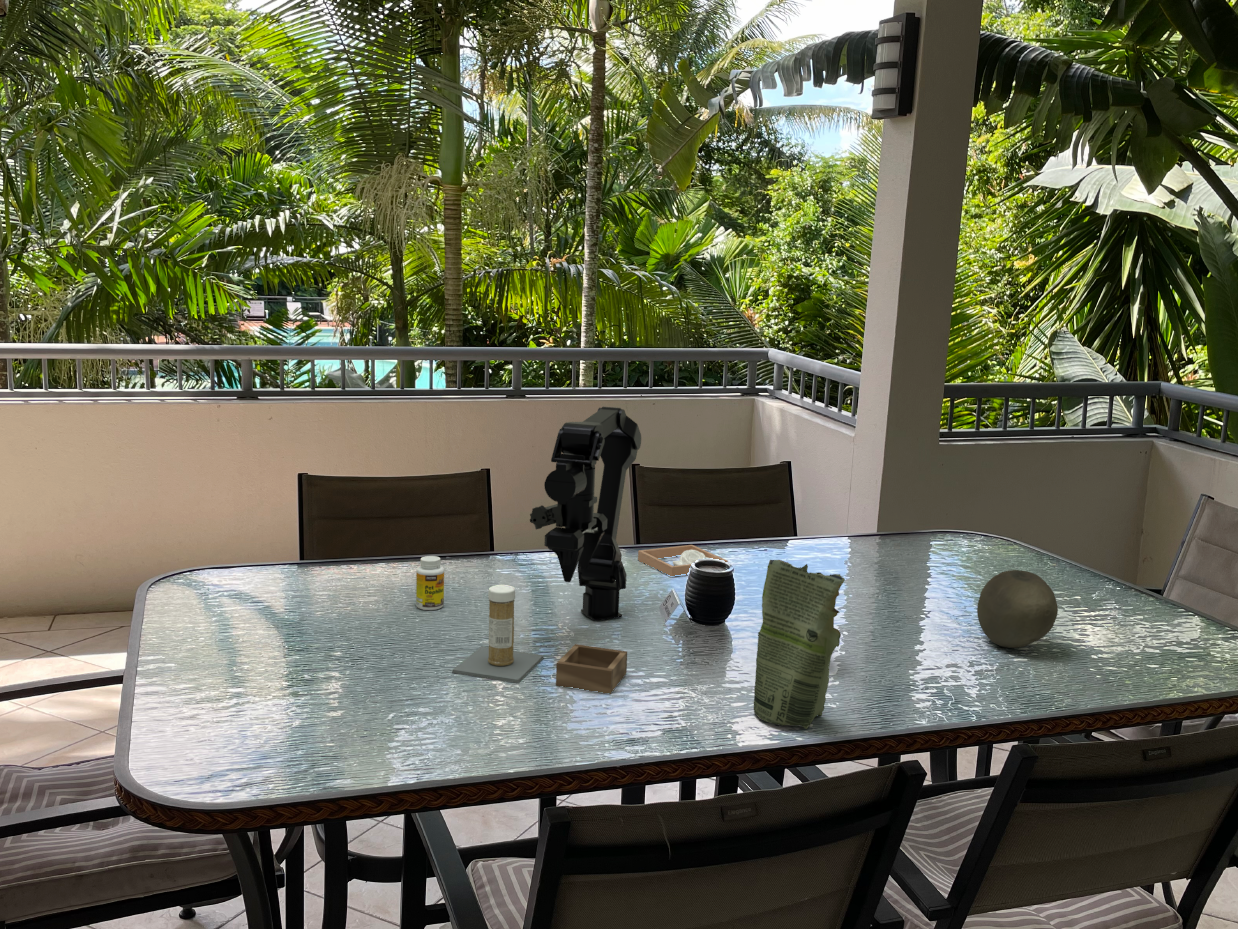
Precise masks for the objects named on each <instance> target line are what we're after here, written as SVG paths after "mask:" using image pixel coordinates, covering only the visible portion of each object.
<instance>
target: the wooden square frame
mask: <svg viewBox="0 0 1238 929" xmlns="http://www.w3.org/2000/svg"><path fill="white" fill-rule="evenodd" d="M686 550H696V551H699V552H701V553H703V554H704V555H705V557H708V558H713V559H719V560H724V561H725V562H729V561H728V560H727V559H725V558H722V557H720V556H718V555H716V554H714V553H711V552H709V551H707V550H704V549H702V548H700V547H698V546H696V545H693V544H688V545H687V544H686V545H677V546H670V547H669V546H668V547H660V548H659V547H658V548H650V549H641V550H638V551H637V553H638V555H637V561H638V560H639V561H638V562H640V563H642V562H643V563H642V564H644V563H645V564H644V565H646V564H647V565H646V566H648V565H649V566H651V567H654V568H655V569H658V570H659V571H662V572H663V573H666V574H668V575H670V576H675V575H681V574H686V575H687V573H688V572H689V568H690V566H691V564H687V565H678V566H674V565H672V564H669V563H667V562H665V561H664V560H663V559H658V558H664V557H672V556H676V555H681V554H682V553H683V552H684V551H686ZM649 566H648V567H649ZM651 567H650V568H651ZM655 569H654V570H655ZM659 571H658V572H659ZM663 573H662V574H663Z"/></svg>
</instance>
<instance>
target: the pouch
mask: <svg viewBox="0 0 1238 929" xmlns="http://www.w3.org/2000/svg"><path fill="white" fill-rule="evenodd" d="M808 567H809V566H808V564H807V563H806V564H804V565H803V566H802V567H801V566H800V567H799V566H798V567H797V566H794V565H793V564H792V563H790V562H788V561H787V562H786V561H784V560H781V559H769V561H768V564H767V569H766V576H765V580H764V585H763V589H762V590H763V591H762V596H761V615H762V623H761V627H760V630H759V631H758V632H757V651H756V658H755V660H756V661H755V664H756V666H755V667H756V668H755V679H754V680H755V681H754V686H753V688H754V693H753V694H754V695H753V696H754V697H753V712H754V714H755V715H756V716H757V717H759V719H760V720H762V721H763V722H765V723H766V722H767V723H770V724H774V725H778V726H795V727H802V728H803V729H804V730H805V729H806V730H808V728H809V727H810V726H811V724H812V722H813V721H814V719H815V718H816V717H822V716H823V712H824V711H825V703H826V701H827V700H826V699H827V698H826V697H827V696H826V694H827V691H828V688H829V682H830V676H829V675H830V663H831V658H832V655H833V653H834V651H835V650H836V648H838V647H839V646H840V642H841V641H840V639H841V636H842V634H841V632H840V630H839V629H838V628H836V627H834V625H835V623H834V622H835V618H836V617H837V616H838V614H839V613H840V611H839V610H838V609H836V608H835V607H836V603H837V599H838V598H837V597H839V596H840V589H841V586H842V585H843V584H844V582H845V580H846V578H844V577H843V576H842V575H841V573H839V574H838V573H833V574H831V573H830V574H829V575H827V574H826V575H825V574H823V573H822V572H820V571H819V572H808ZM817 715H818V716H817Z"/></svg>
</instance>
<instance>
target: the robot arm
mask: <svg viewBox="0 0 1238 929" xmlns="http://www.w3.org/2000/svg"><path fill="white" fill-rule="evenodd" d="M641 446H642V434H641V430H640V428H639V424H638V423H637V422H636V421H634V420H633V419H632V418H630V417H629V416H628V415H627V413H626V411H625V409H622V408H621V407H616V406H615V407H613V406H602V407H598V409H597V411H596V412H595V413H593V414H591V415H590V416H589V417H587V418H586V419H585V420H583V421H568V422H565V423H564V424H562V426H561V428H559V430H558V433H557V436H556V441H555V443H554V447H553V451H552V455H551V457H550V458H551V459H550V461H551V463H555V469H554V470H553V471H551V472H549V473H548V474H547V476H546V478H545V481H544V490H545V493H546V495H547V496H548V498H550V499H551V500H552V501H554V502H556V504H552V505H548V506H544V505H540V506H535V507H533V508H532V510H531V513H530V514H529V515H530V519H529V523H531V524H533V525H534V528H535V530H540V529H542V528H543V527H548V526H550V525H554V524H555V527H554V528H552V529H550V530H549V531H548V532H547V533H545V535H544V546H545V547H547V549H548V550H550V551H552V552H553V553H554V554H555V555H556V556H557V560H558V562H559V563H558V564H559V567H560V570H561V574H562V577H563V581H564V582H565V583H571V582H572V579H573V577H574V574H575V572H576V569H577V576H578V586H579V587H585V588H584V592H583V593H582V609H580V613H582V614H583V615H584V616H586V617H587V618H589V619H591V620H593V621H594V622H596V621H597V622H598V621H604V620H605V621H606V620H611V619H618V618H619V619H620V618H623V614H622V613H620V591H621V590H626V588H627V580H628V579H627V576H628V575H627V572H626V569H625V567H624V563H623V561H622V557H623V556H622V551H621V549H620V546H619V545H618V543H617V536H618V535H617V534H618V527H619V522H620V521H619V520H620V515H621V514H620V513H621V508H622V503H623V502H622V501H623V497H624V496H623V495H624V487H625V482H626V473H627V470H628V469H629V468H630V467H631V465H633V463H634V462H635V461H636V459H637V455H638V452H639V451H638V450H640V448H641ZM600 459H601V462H602V463H603V472H602V475H601V476H602V477H601V485H600V490H599V496H595V486H596V485H595V480H596V465H597V461H599V460H600ZM595 504H597V509H596V510H597V511H596V512H595V511H594V510H595Z"/></svg>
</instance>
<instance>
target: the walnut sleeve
mask: <svg viewBox="0 0 1238 929" xmlns="http://www.w3.org/2000/svg"><path fill="white" fill-rule="evenodd" d="M555 664H556V666H555V667H556V668H555V669H556V670H555V671H556V672H555V673H556V674H555V687H560V686H563V687H562V688H566V687H573V688H579V689H584V690H583V691H586V690H589V691H588V692H592V691H598V692H597V693H599V692H603V693H602V694H605V693H610V694H609V695H612V693H613V692H614V690H615V689H616V688H617V687H618V685H619V684H620V683H621V681H623V679H624V677H626V675H627V674H626V673H627V672H628V651H627V650H620V649H612V648H605V647H598V646H591V645H584V644H577V643H575V644H574V645H572V646H571V648H570V649H569V650H568V651H567V652H565V654H564V655H562V657H561V658H560V659H559V660H558V661H557V662H556V663H555ZM619 682H620V683H619ZM618 683H619V684H618ZM617 684H618V685H617ZM616 686H617V687H616ZM615 687H616V688H615ZM573 688H572V689H573ZM614 688H615V689H614ZM579 689H578V690H579ZM613 689H614V690H613ZM612 691H613V692H612ZM611 692H612V693H611Z"/></svg>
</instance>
